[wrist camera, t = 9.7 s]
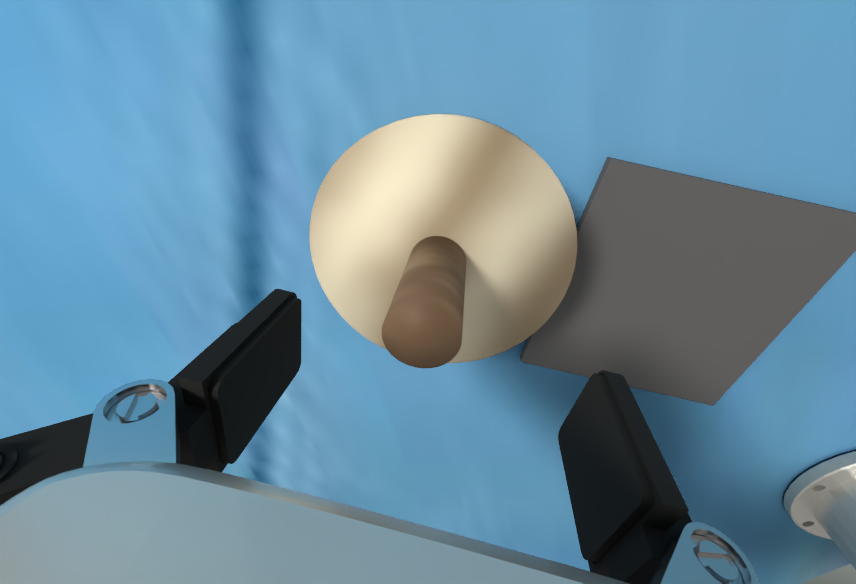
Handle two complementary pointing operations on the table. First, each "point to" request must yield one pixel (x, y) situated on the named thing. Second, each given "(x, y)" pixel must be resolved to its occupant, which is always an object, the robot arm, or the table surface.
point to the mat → (686, 279)
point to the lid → (443, 239)
